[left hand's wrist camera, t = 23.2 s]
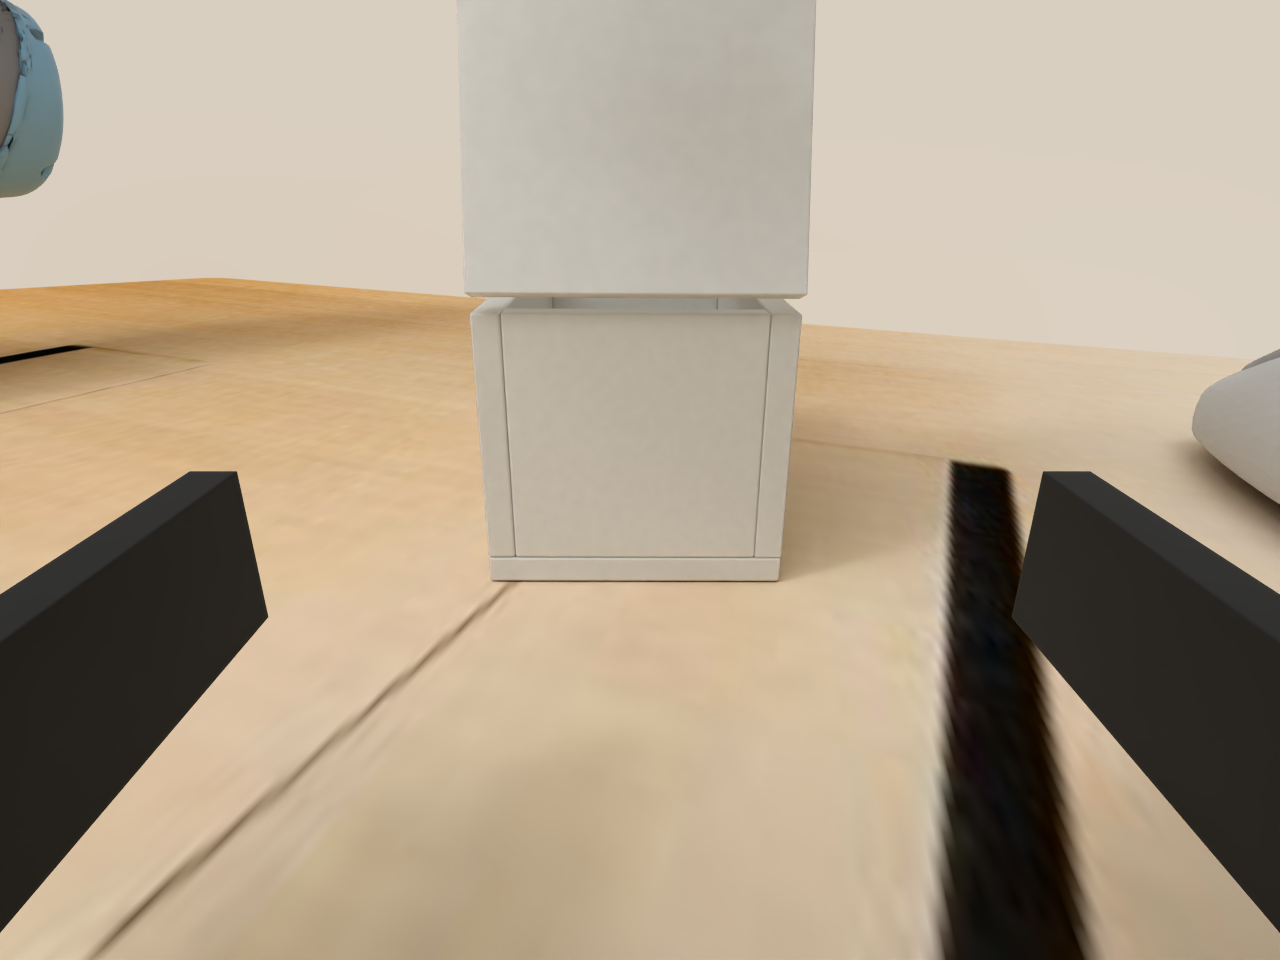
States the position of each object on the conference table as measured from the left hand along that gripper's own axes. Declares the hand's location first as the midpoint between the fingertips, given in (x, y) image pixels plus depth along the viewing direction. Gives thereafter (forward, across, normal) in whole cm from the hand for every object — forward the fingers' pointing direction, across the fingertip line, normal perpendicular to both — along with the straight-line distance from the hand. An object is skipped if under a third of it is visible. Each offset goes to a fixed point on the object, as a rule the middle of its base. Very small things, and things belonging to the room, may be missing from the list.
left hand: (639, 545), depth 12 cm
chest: (+18, 0, -6) cm, 19 cm away
